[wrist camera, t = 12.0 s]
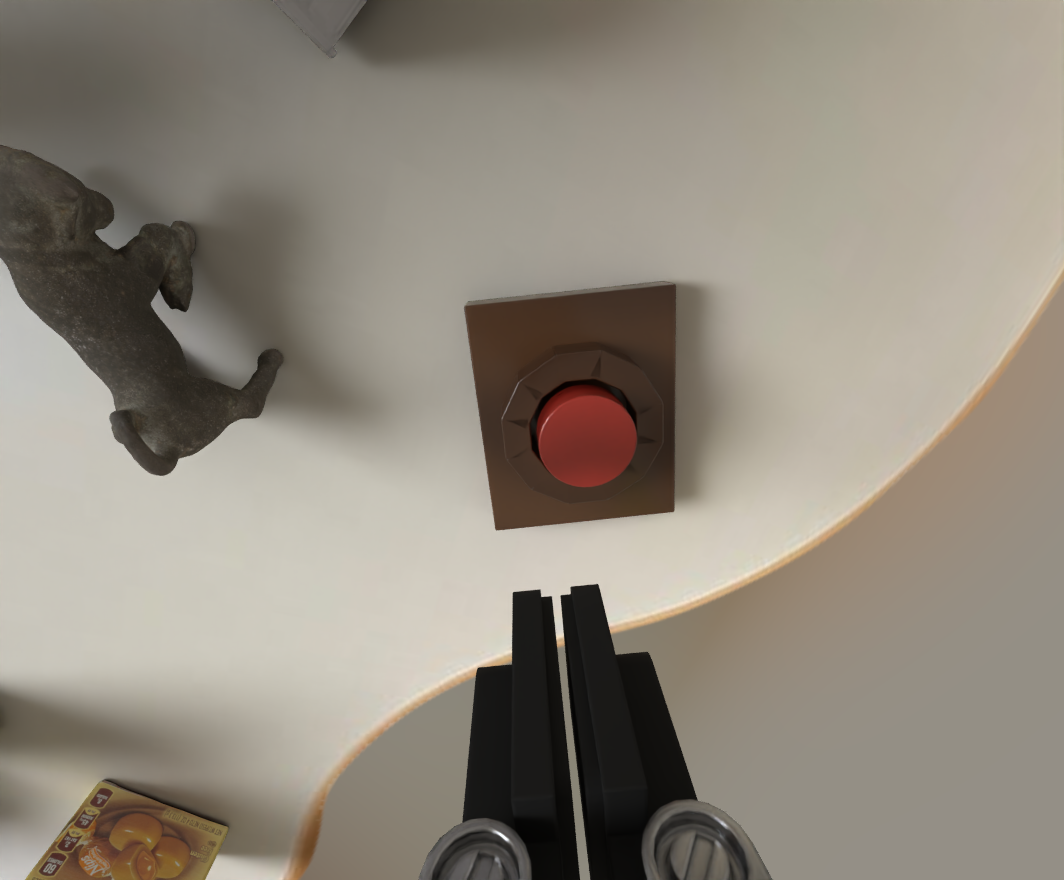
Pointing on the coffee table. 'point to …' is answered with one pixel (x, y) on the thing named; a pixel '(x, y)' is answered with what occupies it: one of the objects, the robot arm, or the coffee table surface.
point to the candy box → (130, 841)
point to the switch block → (567, 360)
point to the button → (585, 436)
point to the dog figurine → (118, 310)
